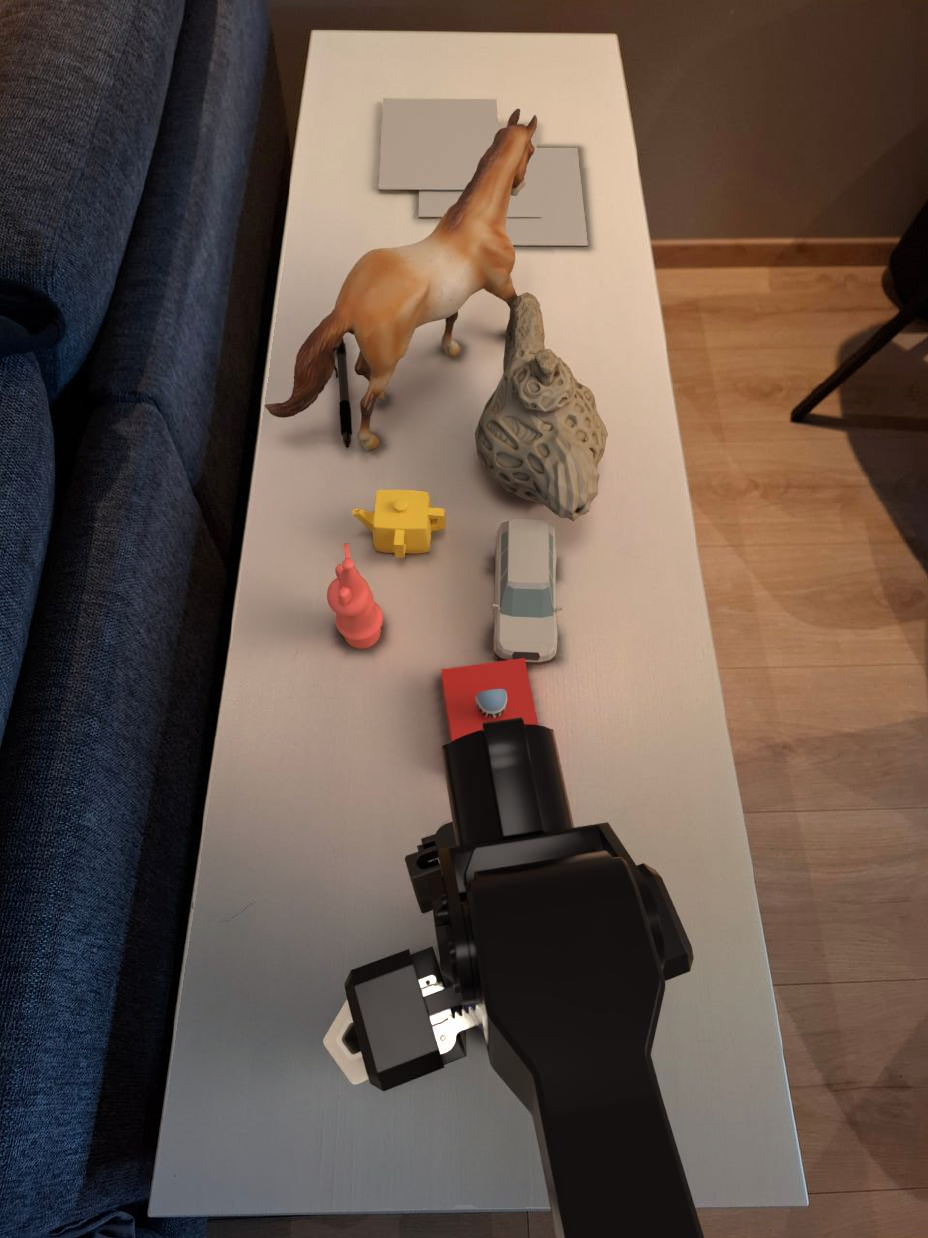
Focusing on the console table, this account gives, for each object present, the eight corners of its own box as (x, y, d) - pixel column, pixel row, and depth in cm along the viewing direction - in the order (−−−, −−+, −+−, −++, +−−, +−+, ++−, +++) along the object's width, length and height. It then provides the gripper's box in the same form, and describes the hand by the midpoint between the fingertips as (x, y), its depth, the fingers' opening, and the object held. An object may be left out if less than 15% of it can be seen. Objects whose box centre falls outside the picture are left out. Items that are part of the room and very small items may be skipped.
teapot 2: (623, 549, 77) (660, 444, 64) (499, 571, 76) (510, 468, 63) (563, 372, 87) (584, 248, 73) (451, 389, 86) (451, 266, 72)
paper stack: (572, 104, 106) (573, 98, 105) (587, 245, 95) (588, 240, 94) (383, 103, 106) (383, 97, 105) (376, 244, 94) (375, 239, 94)
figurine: (334, 613, 74) (315, 539, 63) (382, 606, 74) (370, 532, 64) (339, 656, 72) (320, 587, 62) (388, 649, 73) (377, 579, 62)
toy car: (489, 669, 72) (491, 644, 67) (492, 539, 78) (495, 508, 73) (557, 672, 72) (565, 647, 67) (556, 541, 78) (562, 510, 73)
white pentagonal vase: (354, 1065, 59) (302, 1076, 45) (371, 997, 60) (326, 988, 47) (419, 1082, 58) (386, 1099, 44) (434, 1013, 60) (407, 1008, 46)
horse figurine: (508, 290, 92) (522, 99, 73) (559, 330, 89) (588, 143, 71) (274, 445, 82) (224, 271, 64) (325, 495, 80) (287, 328, 61)
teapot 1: (353, 568, 76) (347, 537, 71) (359, 514, 79) (353, 480, 74) (444, 571, 76) (443, 540, 71) (446, 516, 79) (446, 483, 74)
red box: (540, 763, 68) (548, 737, 63) (455, 775, 68) (456, 750, 62) (521, 671, 72) (528, 639, 66) (441, 682, 71) (440, 651, 66)
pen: (330, 342, 88) (328, 333, 87) (346, 340, 88) (345, 332, 87) (336, 451, 82) (335, 443, 81) (354, 449, 82) (352, 442, 81)
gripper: (638, 747, 46) (594, 816, 60) (299, 863, 43) (336, 907, 57) (734, 957, 41) (661, 979, 55) (361, 1103, 38) (384, 1087, 52)
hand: (510, 981), depth 55 cm, fingers open, 7 cm apart
